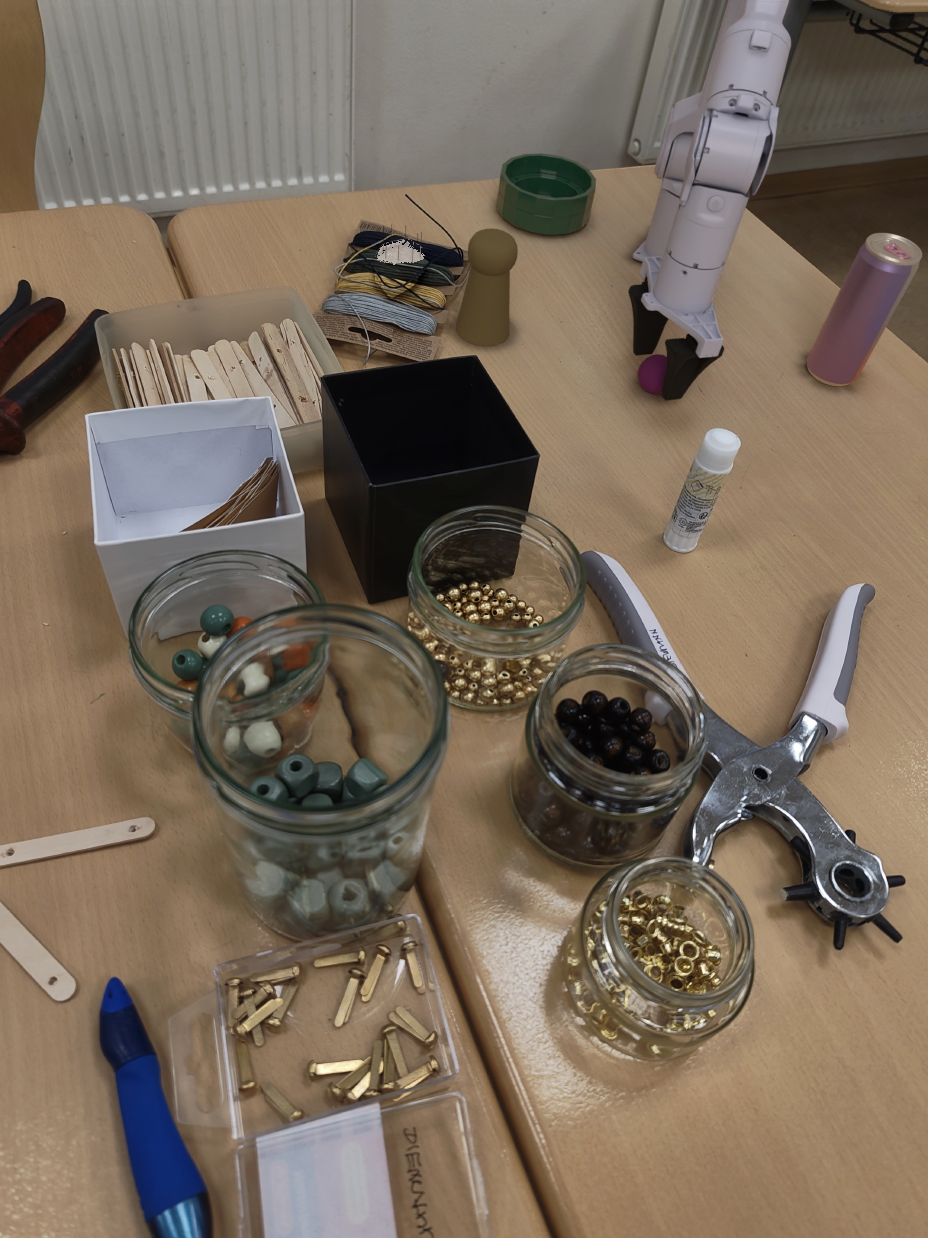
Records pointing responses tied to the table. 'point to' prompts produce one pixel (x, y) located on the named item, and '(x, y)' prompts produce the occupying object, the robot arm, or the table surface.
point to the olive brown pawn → (487, 288)
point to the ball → (653, 373)
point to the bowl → (545, 193)
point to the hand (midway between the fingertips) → (656, 374)
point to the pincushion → (399, 251)
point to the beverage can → (863, 308)
